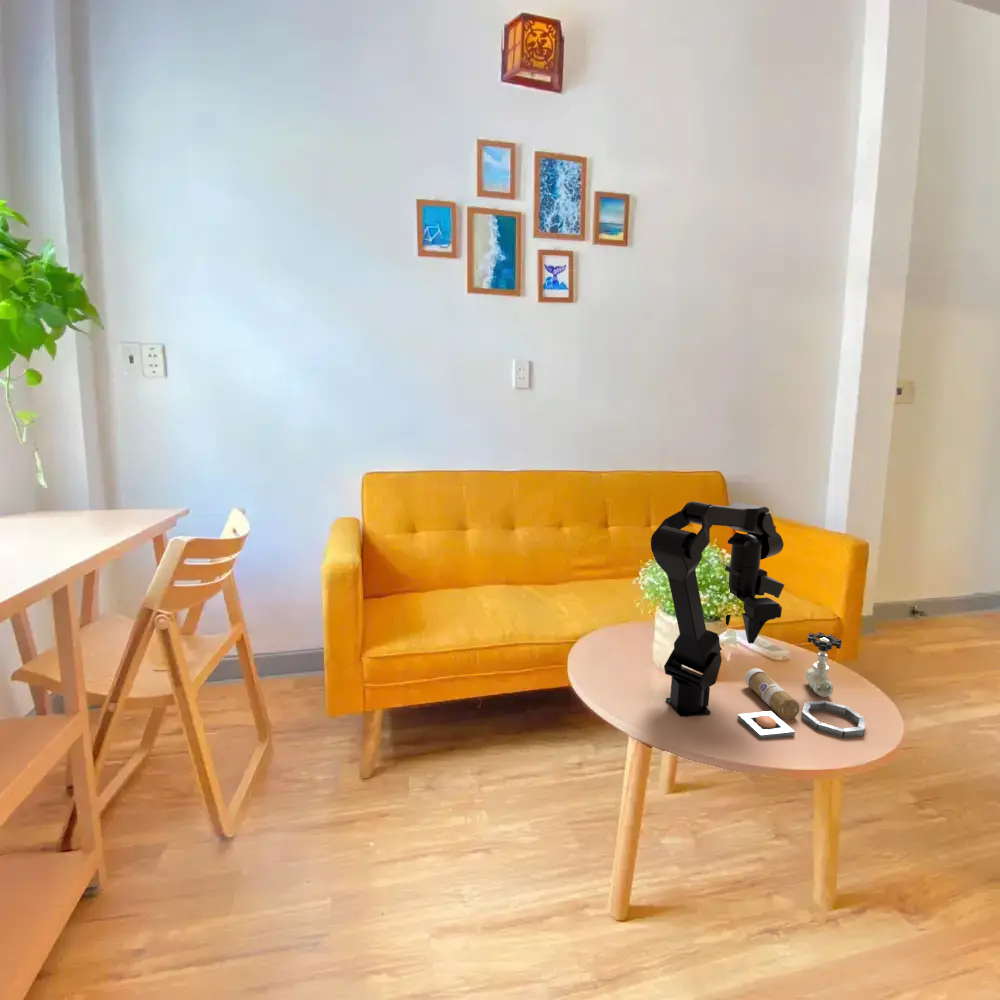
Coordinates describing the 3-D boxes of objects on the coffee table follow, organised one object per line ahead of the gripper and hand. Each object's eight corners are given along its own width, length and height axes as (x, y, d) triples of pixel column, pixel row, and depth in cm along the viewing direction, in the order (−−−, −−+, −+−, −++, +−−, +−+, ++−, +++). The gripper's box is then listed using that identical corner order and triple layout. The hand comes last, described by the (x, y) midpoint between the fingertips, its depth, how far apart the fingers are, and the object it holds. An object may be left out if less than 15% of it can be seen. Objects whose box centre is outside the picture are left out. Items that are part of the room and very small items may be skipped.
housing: (759, 745, 108) (760, 735, 108) (737, 723, 115) (738, 714, 115) (793, 741, 110) (795, 731, 109) (769, 720, 116) (770, 710, 116)
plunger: (762, 737, 110) (763, 726, 110) (751, 727, 114) (752, 716, 113) (778, 735, 111) (780, 724, 110) (767, 725, 114) (768, 714, 114)
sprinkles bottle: (774, 709, 115) (740, 676, 128) (786, 725, 116) (751, 691, 129) (792, 694, 115) (756, 663, 128) (805, 710, 116) (768, 678, 129)
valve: (806, 696, 125) (812, 643, 123) (797, 681, 132) (803, 630, 129) (840, 700, 124) (847, 646, 122) (829, 684, 130) (836, 633, 128)
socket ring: (828, 743, 109) (829, 733, 109) (790, 712, 119) (791, 703, 119) (877, 737, 111) (878, 727, 111) (836, 707, 121) (837, 698, 121)
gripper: (810, 575, 116) (801, 650, 120) (752, 549, 134) (746, 614, 138) (758, 578, 114) (751, 654, 117) (707, 551, 132) (701, 617, 135)
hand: (737, 633), depth 127 cm, fingers open, 9 cm apart
